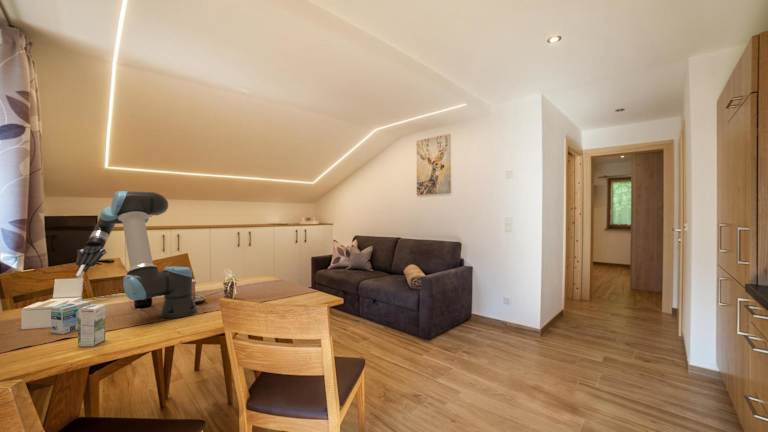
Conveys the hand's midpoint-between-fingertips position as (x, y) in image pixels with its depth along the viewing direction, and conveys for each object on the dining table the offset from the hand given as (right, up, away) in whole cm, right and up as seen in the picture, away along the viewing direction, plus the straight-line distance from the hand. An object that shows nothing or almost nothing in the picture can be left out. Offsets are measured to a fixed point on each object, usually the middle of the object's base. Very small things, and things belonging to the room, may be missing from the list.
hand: (78, 276), depth 165 cm
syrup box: (+43, -18, -41) cm, 62 cm away
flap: (+3, -4, -9) cm, 10 cm away
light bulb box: (+22, -18, -27) cm, 39 cm away
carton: (+6, -17, -18) cm, 25 cm away
